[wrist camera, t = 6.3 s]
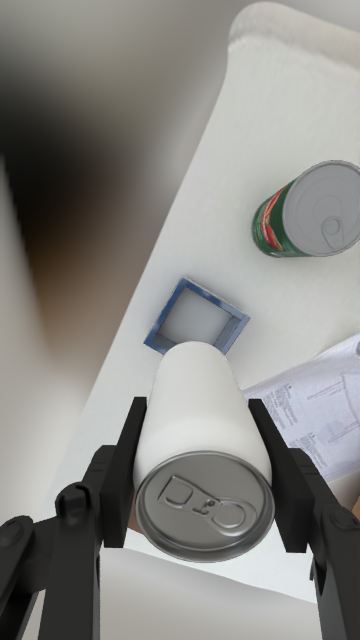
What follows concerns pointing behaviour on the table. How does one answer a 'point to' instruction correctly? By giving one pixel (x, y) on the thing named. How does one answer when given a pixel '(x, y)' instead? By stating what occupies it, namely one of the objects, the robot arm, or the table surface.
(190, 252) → the table surface
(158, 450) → the can
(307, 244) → the canned tomato
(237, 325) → the holder
